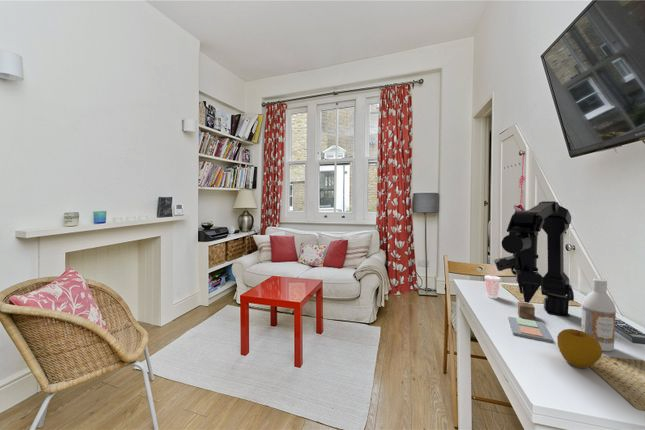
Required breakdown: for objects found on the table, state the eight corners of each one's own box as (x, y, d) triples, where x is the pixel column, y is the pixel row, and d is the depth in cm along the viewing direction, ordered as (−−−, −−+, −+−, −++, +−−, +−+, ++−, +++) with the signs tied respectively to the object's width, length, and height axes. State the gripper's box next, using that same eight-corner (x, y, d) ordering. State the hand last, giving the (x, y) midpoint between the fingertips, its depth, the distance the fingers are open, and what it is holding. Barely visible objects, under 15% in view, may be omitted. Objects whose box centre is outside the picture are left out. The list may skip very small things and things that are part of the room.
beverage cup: (483, 297, 123) (484, 266, 122) (484, 293, 128) (484, 264, 127) (499, 299, 119) (500, 268, 119) (499, 295, 125) (500, 265, 124)
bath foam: (589, 350, 79) (592, 282, 78) (575, 338, 85) (578, 275, 84) (620, 354, 76) (623, 284, 76) (603, 342, 83) (606, 277, 82)
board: (542, 324, 95) (542, 321, 95) (552, 342, 83) (552, 339, 83) (508, 318, 100) (508, 315, 100) (512, 334, 88) (513, 331, 88)
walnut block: (532, 315, 103) (532, 303, 103) (534, 319, 99) (534, 307, 99) (517, 313, 105) (517, 301, 105) (519, 317, 101) (519, 305, 101)
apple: (609, 372, 68) (611, 337, 68) (583, 376, 67) (585, 341, 66) (572, 353, 77) (573, 323, 76) (548, 357, 75) (549, 325, 75)
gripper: (494, 244, 100) (493, 286, 100) (498, 252, 83) (497, 302, 84) (532, 246, 94) (530, 290, 95) (544, 256, 78) (542, 309, 79)
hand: (524, 297), depth 88 cm, fingers open, 9 cm apart
